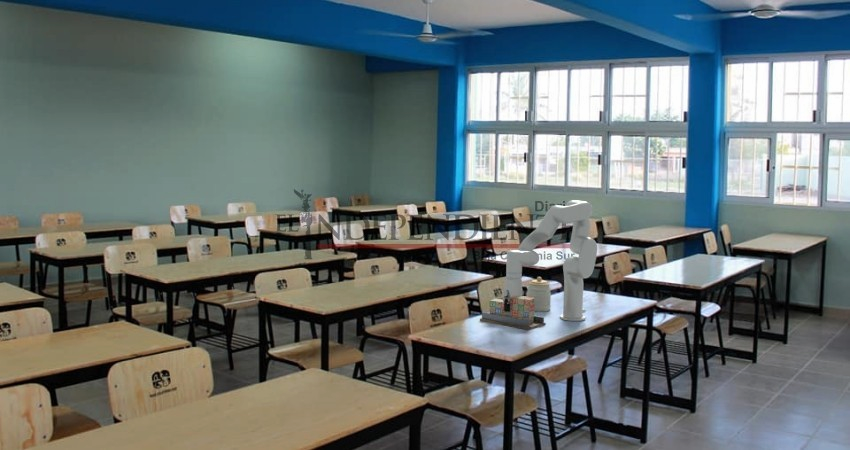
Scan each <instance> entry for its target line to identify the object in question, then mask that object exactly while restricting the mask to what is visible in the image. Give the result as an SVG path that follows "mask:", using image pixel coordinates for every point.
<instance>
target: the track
mask: <svg viewBox="0 0 850 450" xmlns="http://www.w3.org/2000/svg"><path fill="white" fill-rule="evenodd" d="M479 321H480V322H484V323H485V322H486V323H491V324H496V325H500V326H503V327H504V326H506V327H509V328H516V329H519V330H525V331H529V330H533V329H535V328H539V327H543V326H546V324H547V323H546V322H545V316H539V315H535V314H534V322H533V323H531V324H530V321H528V320H523V319H517V318H512V317H507V316H502V315H496V314H491V313H490V312H487V311H486V312H485V311H482V312H481V318H479Z"/></svg>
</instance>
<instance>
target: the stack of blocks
mask: <svg viewBox="0 0 850 450" xmlns="http://www.w3.org/2000/svg"><path fill="white" fill-rule="evenodd" d="M509 298H510V297H509ZM507 300H509V299H507ZM534 302H535V298H531V297H527V295H525V296H524V295H523V296H518V297H514V299H512V300H511V301H510V303H509V304H510V312H506V311H504V301H503V298H502V299H501V298H493V299H490V300H489V313H491V314H496V315H502V316H507V317H512V318H517V319H523V320H528V321H530V324H531V323H533V322H534V315H535V311H534V305H535V304H534Z"/></svg>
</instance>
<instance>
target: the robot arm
mask: <svg viewBox="0 0 850 450" xmlns="http://www.w3.org/2000/svg"><path fill="white" fill-rule="evenodd" d="M593 209H594V208H593V206H592V204H591V203H590V202H587V201H584V200H577V199H576V200H575V199H573V200H569V201H568V202H567V203H566V204H565V206H564V205H552V206H551V207H550V208H549V209H548V211H546V213H545V215H544V216H543V218H542V220H541V221H540V222H539V224H538V226H537V227H536V229H534V230H533V231H532V232H531V233H529V235H527V236H526V237H525V238H524V239H523V240H522V242H521V243H520V244H519V246H518V248H517V249H510V250H508V251H506V265H505V266H506V268H505V269H506V270H505V271H506V272H505V273H506V274H505V275H506V276H505V280H504V284H503V285H504V286H503V294H502V295H501V297H502V300H503V301H504V311H506V312H510V304H509V303H510V301H511V300H512V299H514V297H518V296H524V294H525V290H523V282H522V280H523V278H522V277H523V276H522V274H523V266H529V267H531V266H536V265H537V264H538V263H539V261H540V255H539V254H538V253H537V252H536V251H535V250H534V249H535V248H536V247H537V246H538V245H540V244H542V243H544V242H546V241H548V240H551V238H553V236H554V234H555V233H556V231H557V229H558V228H559V227H560V225H561V224H563V225H565V224H572V231H571V235H570V236H571V237H570V242H569V250H570V252H572V253H573V254H575V255H578V256H568V257H566V258H565V260H564V261H563V265H562V269H563V280H564V281H563V282H564V284H563V285H564V286H563V308H562V309H563V311H562V314H560V315H559V319H560V320H563V321H569V322H570V321H571V322H580V321H582V322H583V321H586V316H584V313H586V312H587V311H586V309H585V308H583V307H584V301H583V300H584V279H588V278H590V276H591V275H592V274H593V272H594V269H595V265H596V261H597V254H598V245H597V244H598V243H597V242H596V240H595V239H593V238H592V237H590V233H591V232H590V230H591V221H590V219H589V218H590V217H591V216H592V214H593V211H594V210H593ZM509 297H510V298H509ZM507 299H509V300H507Z"/></svg>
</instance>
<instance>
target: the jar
mask: <svg viewBox="0 0 850 450" xmlns="http://www.w3.org/2000/svg"><path fill="white" fill-rule="evenodd" d="M550 285H551V284H550V282H548V281H547V280H544V279H543V278H542V277H541V276H537V278H536V279H532V280H531V281H529V282H528V285H527V286H526V289H527V292H526V297H531V298H535V302H534V304H535V305H534V312H548V311H550V310H551V308H552V307H551V306H552V305H551V303H552V302H551V301H552V299H551V296H552V293H551V290H552V287H551V286H550Z"/></svg>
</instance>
